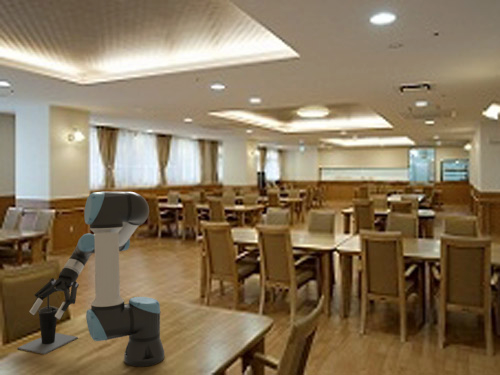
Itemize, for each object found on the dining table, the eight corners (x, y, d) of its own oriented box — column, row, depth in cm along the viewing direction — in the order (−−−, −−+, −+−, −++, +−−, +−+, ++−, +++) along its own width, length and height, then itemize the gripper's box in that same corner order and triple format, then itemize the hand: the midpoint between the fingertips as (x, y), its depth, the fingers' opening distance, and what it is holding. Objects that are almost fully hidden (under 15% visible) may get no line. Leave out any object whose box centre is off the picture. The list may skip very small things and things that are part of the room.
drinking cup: (61, 338, 183) (61, 292, 183) (52, 346, 176) (52, 297, 175) (44, 337, 184) (44, 291, 183) (34, 345, 176) (34, 296, 176)
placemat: (77, 338, 186) (77, 336, 186) (44, 354, 169) (44, 353, 169) (52, 333, 191) (52, 332, 191) (17, 349, 174) (17, 347, 174)
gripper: (98, 279, 189) (73, 323, 175) (54, 273, 198) (26, 316, 184) (89, 269, 184) (63, 315, 170) (44, 264, 193) (16, 307, 179)
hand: (44, 315), depth 177 cm, fingers open, 13 cm apart
